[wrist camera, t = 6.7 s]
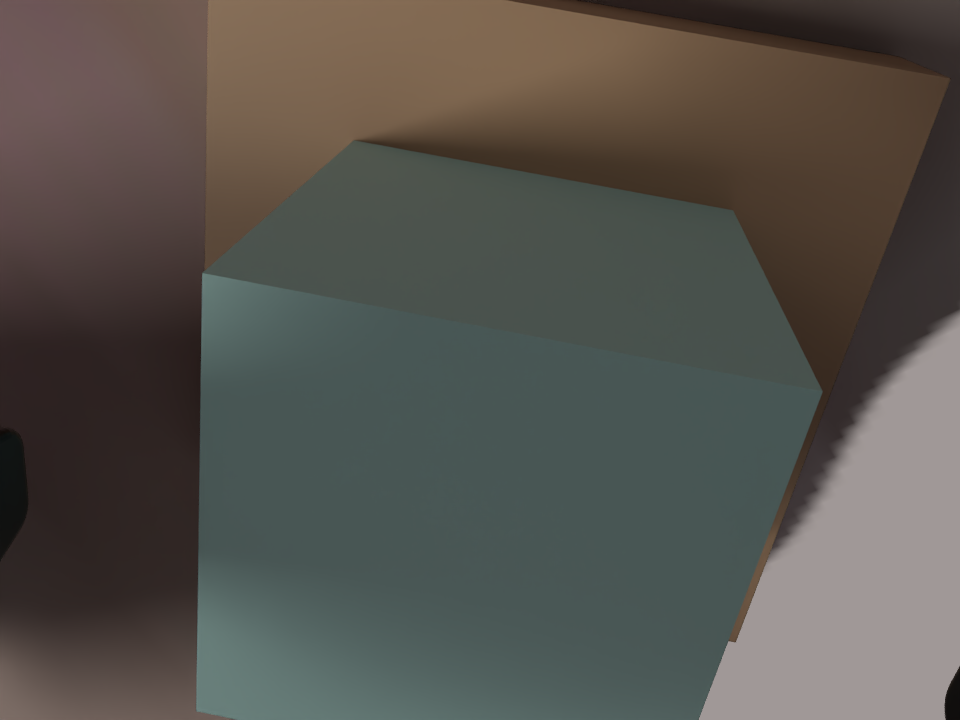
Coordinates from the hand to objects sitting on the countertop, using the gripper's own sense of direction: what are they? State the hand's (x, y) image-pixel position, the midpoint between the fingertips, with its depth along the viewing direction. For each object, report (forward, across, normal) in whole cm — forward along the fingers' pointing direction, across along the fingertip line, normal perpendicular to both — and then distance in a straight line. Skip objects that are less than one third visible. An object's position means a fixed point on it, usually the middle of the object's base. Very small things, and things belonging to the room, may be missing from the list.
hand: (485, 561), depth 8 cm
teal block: (+5, 0, 0) cm, 5 cm away
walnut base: (+7, 0, 0) cm, 7 cm away
